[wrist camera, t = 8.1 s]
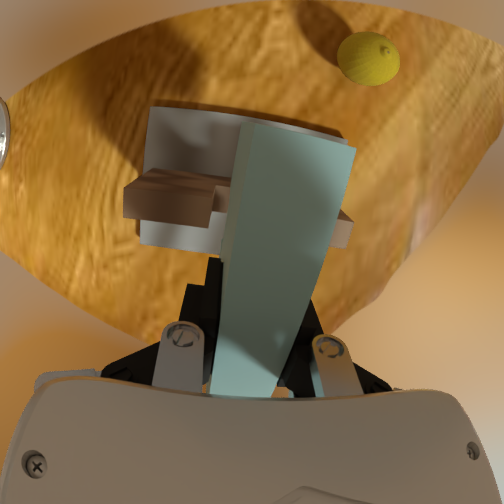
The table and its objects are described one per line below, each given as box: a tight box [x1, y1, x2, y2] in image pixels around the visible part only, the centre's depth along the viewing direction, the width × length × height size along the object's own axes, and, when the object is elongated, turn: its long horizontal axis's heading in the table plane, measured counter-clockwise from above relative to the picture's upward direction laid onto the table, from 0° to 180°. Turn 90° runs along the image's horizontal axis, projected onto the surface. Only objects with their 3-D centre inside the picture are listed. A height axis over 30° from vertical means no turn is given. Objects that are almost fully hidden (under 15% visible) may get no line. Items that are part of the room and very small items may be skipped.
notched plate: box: [206, 121, 356, 398], centre depth 15 cm, size 14×2×14 cm, turn 169°
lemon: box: [337, 32, 400, 86], centre depth 19 cm, size 6×6×8 cm
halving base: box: [123, 106, 354, 255], centre depth 24 cm, size 20×15×9 cm
